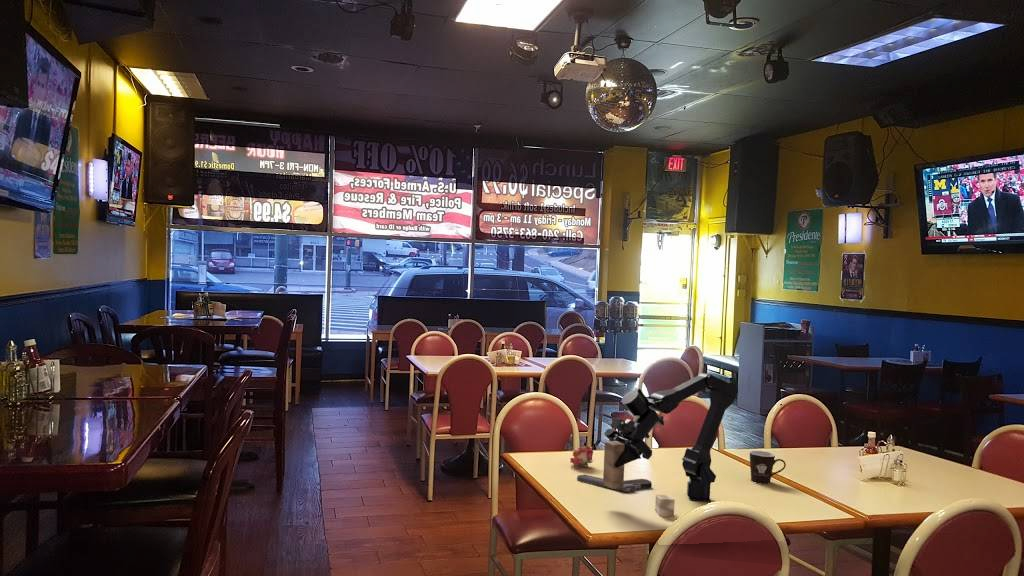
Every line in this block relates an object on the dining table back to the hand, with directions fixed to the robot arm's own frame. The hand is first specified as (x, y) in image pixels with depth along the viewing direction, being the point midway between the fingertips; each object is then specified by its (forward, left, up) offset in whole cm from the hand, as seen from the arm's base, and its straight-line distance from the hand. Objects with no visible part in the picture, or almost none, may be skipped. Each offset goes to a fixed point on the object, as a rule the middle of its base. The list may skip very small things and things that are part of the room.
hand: (610, 464), depth 220 cm
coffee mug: (-57, -45, -13) cm, 73 cm away
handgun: (-3, -27, -14) cm, 30 cm away
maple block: (-17, +1, -13) cm, 21 cm away
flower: (+8, -47, -13) cm, 49 cm away
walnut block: (-1, -1, -7) cm, 7 cm away
